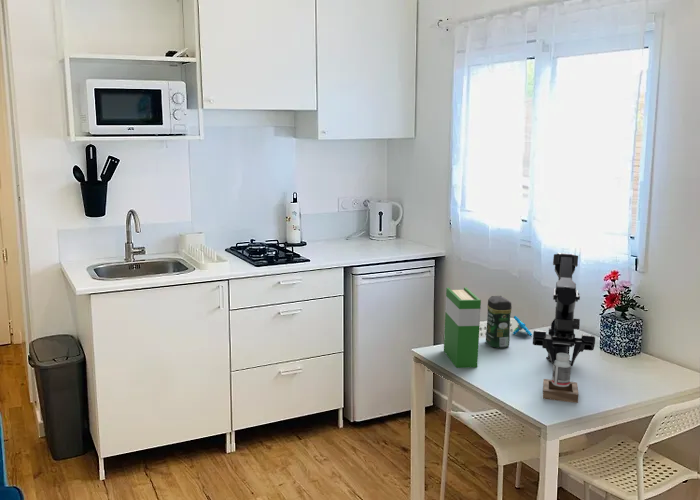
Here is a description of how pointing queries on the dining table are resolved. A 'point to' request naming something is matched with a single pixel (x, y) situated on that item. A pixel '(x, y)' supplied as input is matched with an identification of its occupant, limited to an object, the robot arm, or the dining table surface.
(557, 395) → the socket block
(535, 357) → the dining table surface
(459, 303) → the hardback book
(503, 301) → the coffee jar
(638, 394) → the dining table surface
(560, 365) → the pill bottle
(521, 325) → the blue angled piece
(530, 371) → the dining table surface
